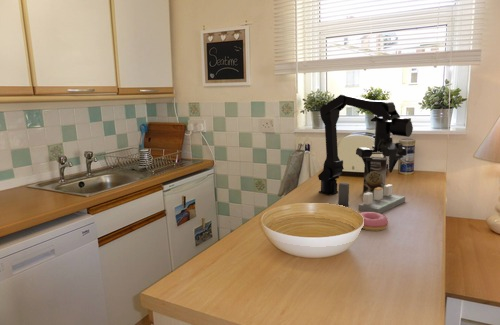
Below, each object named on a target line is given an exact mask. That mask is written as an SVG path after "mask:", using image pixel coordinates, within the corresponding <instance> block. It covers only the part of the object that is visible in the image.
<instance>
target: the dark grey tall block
mask: <svg viewBox="0 0 500 325" xmlns="http://www.w3.org/2000/svg"><path fill="white" fill-rule="evenodd" d="M337 194H338V196H337V197H338V199H337V200H338V202H337V205H338V204H339V205H343V206H348V207H349V201H350V200H349V198H350V196H349V195H350V183H349V182H338V193H337Z"/></svg>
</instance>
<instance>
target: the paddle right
mask: <svg viewBox="0 0 500 325" xmlns="http://www.w3.org/2000/svg"><path fill="white" fill-rule="evenodd" d="M393 188H394V185H393V184H390V183H388V184H385V186H384V195H385V196H390V195H392V194H393Z"/></svg>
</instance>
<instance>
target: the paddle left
mask: <svg viewBox="0 0 500 325" xmlns="http://www.w3.org/2000/svg"><path fill="white" fill-rule="evenodd" d="M362 195H363V196H362V197H363V199H362V203H363V204H366V205H369V204H371V203H373V199H374V195H373V193H371V192H367V193H364V194H363V193H362Z"/></svg>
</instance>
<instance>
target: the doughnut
mask: <svg viewBox="0 0 500 325" xmlns="http://www.w3.org/2000/svg"><path fill="white" fill-rule="evenodd" d="M360 214H361V215H362V216H363V218H364V226H363V229H362V230H365V231H370V232H379V231H382V230H383V231H384V230H385V229H386V228H388V224H389V220H388V217H386V215H384V214H382V213H380V214H379V213H375V212H366V211H363V212H360Z"/></svg>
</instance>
